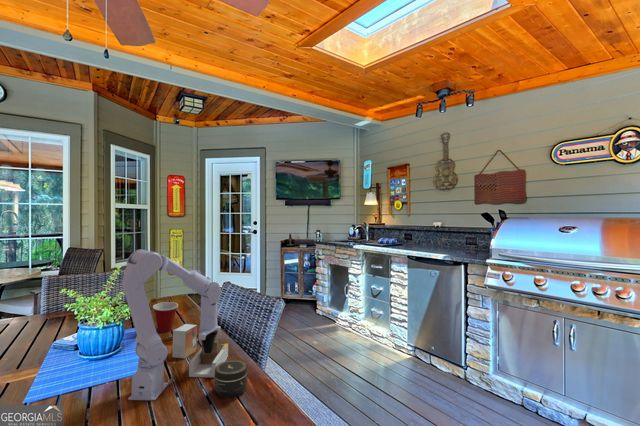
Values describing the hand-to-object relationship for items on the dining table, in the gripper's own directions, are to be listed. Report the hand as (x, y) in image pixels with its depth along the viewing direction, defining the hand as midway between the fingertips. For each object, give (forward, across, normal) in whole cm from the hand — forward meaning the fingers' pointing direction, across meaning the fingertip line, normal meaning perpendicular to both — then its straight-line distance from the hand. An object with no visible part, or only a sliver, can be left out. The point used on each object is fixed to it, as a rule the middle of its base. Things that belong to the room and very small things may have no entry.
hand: (208, 352), depth 118 cm
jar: (+6, -14, -12) cm, 19 cm away
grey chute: (+6, +2, 0) cm, 6 cm away
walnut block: (+5, +4, 0) cm, 6 cm away
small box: (+6, +12, +13) cm, 19 cm away
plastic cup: (+6, +37, +32) cm, 49 cm away
